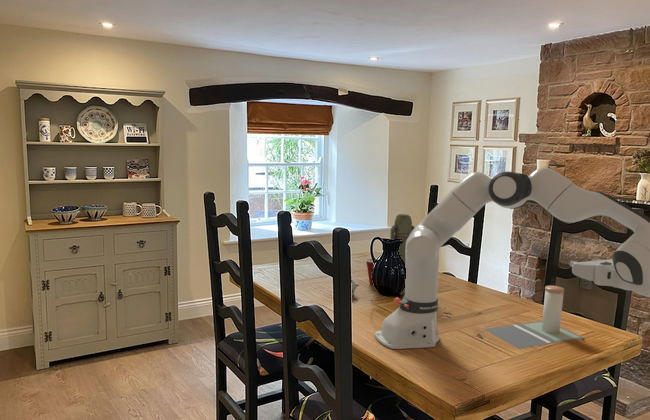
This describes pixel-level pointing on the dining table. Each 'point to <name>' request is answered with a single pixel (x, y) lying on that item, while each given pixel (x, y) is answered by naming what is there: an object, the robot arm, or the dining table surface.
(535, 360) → the dining table surface
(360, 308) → the dining table surface
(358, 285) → the game die
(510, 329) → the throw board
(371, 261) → the plastic cup
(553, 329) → the ball canister
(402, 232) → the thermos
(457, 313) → the dining table surface
